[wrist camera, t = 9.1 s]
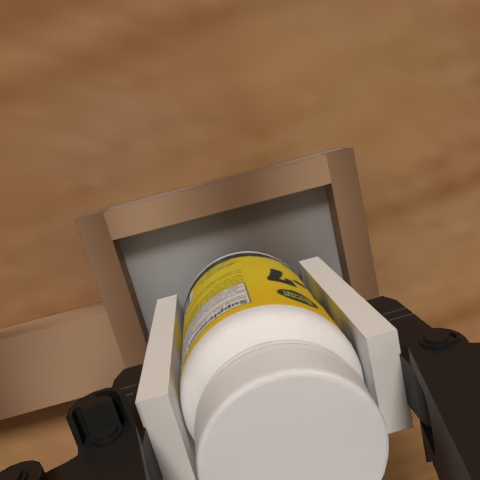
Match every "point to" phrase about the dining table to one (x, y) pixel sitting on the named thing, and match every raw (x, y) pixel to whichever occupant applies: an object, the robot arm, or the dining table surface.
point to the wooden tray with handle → (183, 267)
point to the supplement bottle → (273, 380)
